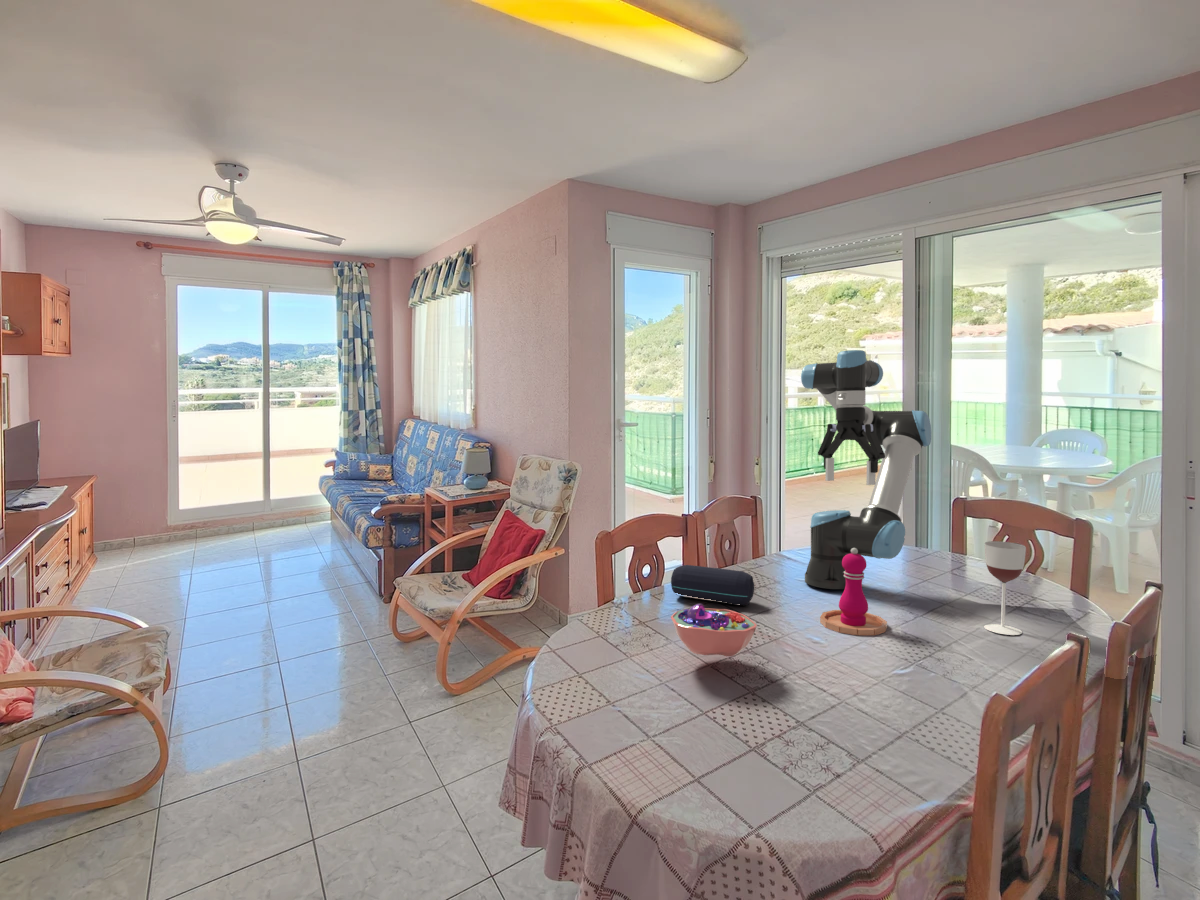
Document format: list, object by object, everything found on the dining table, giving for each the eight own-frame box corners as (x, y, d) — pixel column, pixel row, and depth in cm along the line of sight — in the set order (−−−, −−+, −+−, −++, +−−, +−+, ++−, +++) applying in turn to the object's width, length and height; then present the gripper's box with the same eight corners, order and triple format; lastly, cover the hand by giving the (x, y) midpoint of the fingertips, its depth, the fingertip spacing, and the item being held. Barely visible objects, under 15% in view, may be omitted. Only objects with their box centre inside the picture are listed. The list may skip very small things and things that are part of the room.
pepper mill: (870, 627, 159) (872, 551, 158) (841, 626, 161) (842, 550, 160) (864, 618, 167) (865, 545, 166) (836, 617, 168) (837, 544, 167)
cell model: (741, 675, 132) (741, 623, 131) (657, 656, 143) (657, 608, 142) (765, 650, 146) (766, 603, 146) (688, 634, 157) (688, 591, 156)
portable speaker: (758, 602, 185) (758, 569, 184) (749, 611, 176) (749, 577, 175) (680, 591, 197) (680, 560, 196) (667, 599, 188) (667, 567, 188)
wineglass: (1016, 625, 163) (1019, 542, 161) (1028, 637, 153) (1031, 549, 152) (978, 621, 165) (980, 540, 164) (988, 633, 156) (990, 547, 155)
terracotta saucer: (808, 621, 167) (808, 615, 167) (847, 611, 175) (847, 606, 174) (859, 639, 153) (859, 633, 153) (899, 628, 161) (899, 622, 161)
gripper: (805, 407, 181) (805, 479, 182) (881, 405, 159) (880, 487, 160) (823, 407, 184) (822, 478, 185) (900, 405, 163) (898, 485, 164)
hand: (849, 482), depth 173 cm, fingers open, 13 cm apart
